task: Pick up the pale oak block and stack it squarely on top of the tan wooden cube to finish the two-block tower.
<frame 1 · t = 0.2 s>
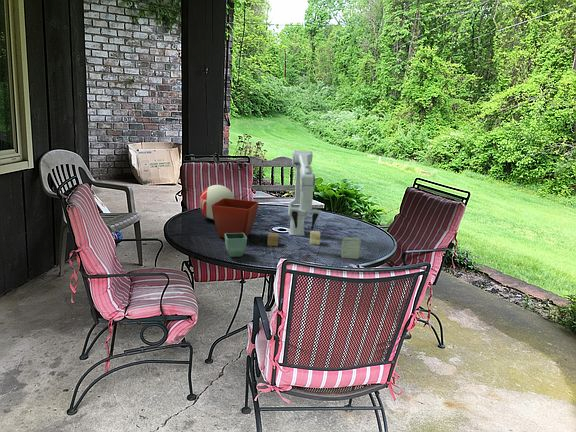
hand: (304, 228, 221), 10 cm above the table, tool pointing down, fingers open, 7 cm apart
oak block: (314, 243, 233), on the table
medicine box: (349, 257, 215), on the table
tan wooden cube: (272, 244, 227), on the table
flower pot: (235, 255, 207), on the table
decorative sphere: (216, 220, 267), on the table
plant pot: (234, 236, 237), on the table
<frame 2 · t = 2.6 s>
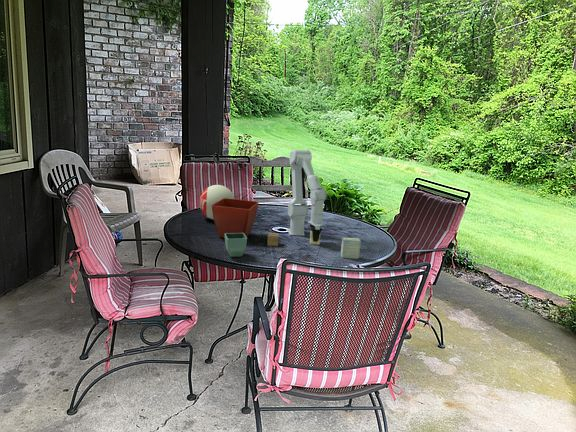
hand: (314, 240, 233), 2 cm above the table, tool pointing down, fingers closed on oak block, 4 cm apart
oak block: (314, 243, 233), on the table, touching gripper
everything else where it was.
when the fingers open (8 cm above the table, at t = 6.1 s): oak block stays where it is, resting on tan wooden cube.
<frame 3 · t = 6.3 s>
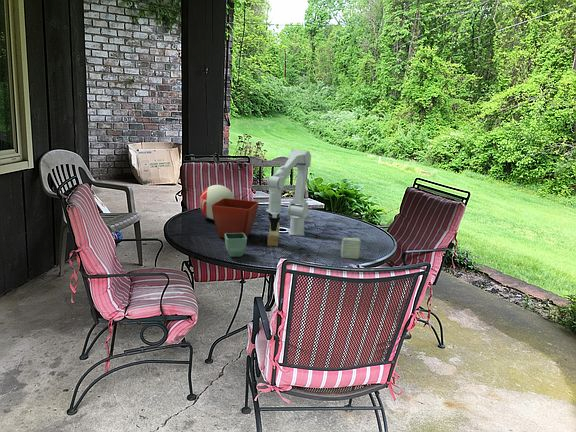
hand: (273, 229, 225), 8 cm above the table, tool pointing down, fingers open, 6 cm apart
oak block: (274, 234, 226), point 5 cm above the table, touching tan wooden cube
tan wooden cube: (272, 244, 227), on the table, touching oak block
everything else where it was.
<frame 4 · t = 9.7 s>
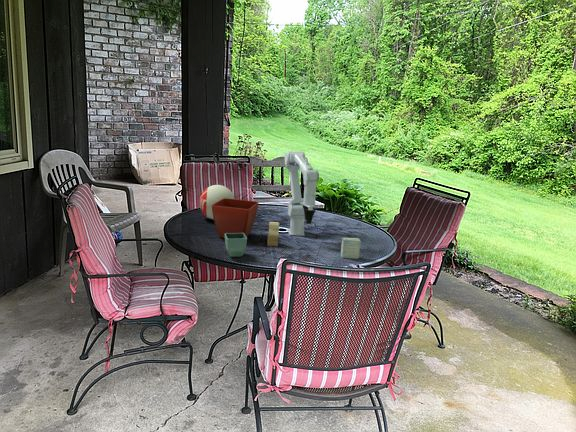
hand: (308, 221, 232), 10 cm above the table, tool pointing down, fingers open, 7 cm apart
nothing on the table moved.
at the end: oak block 0.3 cm off-centre on the tan wooden cube, point 5.0 cm above the tan wooden cube's base; oak block tilted 0°; tan wooden cube moved 0.1 cm from its start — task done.
